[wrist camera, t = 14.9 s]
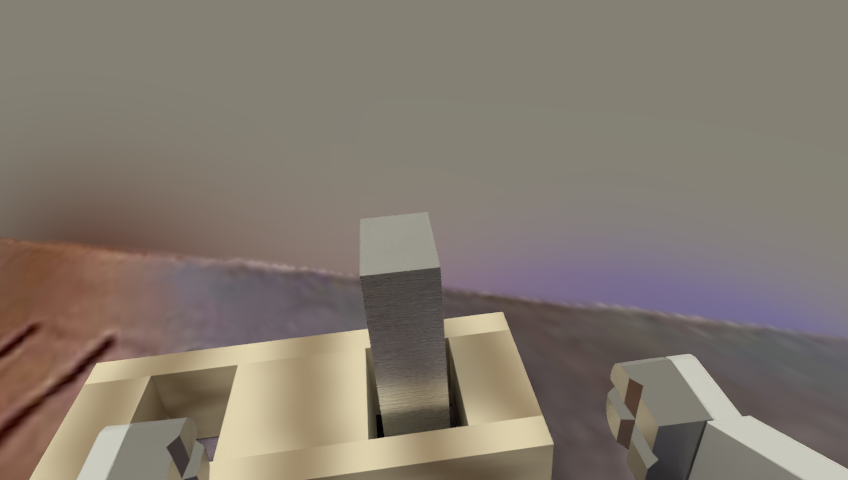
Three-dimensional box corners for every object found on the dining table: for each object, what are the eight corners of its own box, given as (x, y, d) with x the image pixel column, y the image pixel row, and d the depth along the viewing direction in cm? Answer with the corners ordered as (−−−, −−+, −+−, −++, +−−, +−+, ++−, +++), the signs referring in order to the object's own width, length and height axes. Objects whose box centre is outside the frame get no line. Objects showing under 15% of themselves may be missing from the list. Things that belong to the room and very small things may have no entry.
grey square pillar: (393, 495, 27) (359, 276, 20) (389, 422, 31) (359, 219, 24) (454, 486, 27) (440, 267, 20) (442, 416, 31) (427, 212, 24)
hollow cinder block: (56, 591, 24) (4, 523, 21) (128, 427, 32) (96, 363, 29) (548, 516, 25) (553, 444, 23) (502, 377, 33) (502, 311, 30)
